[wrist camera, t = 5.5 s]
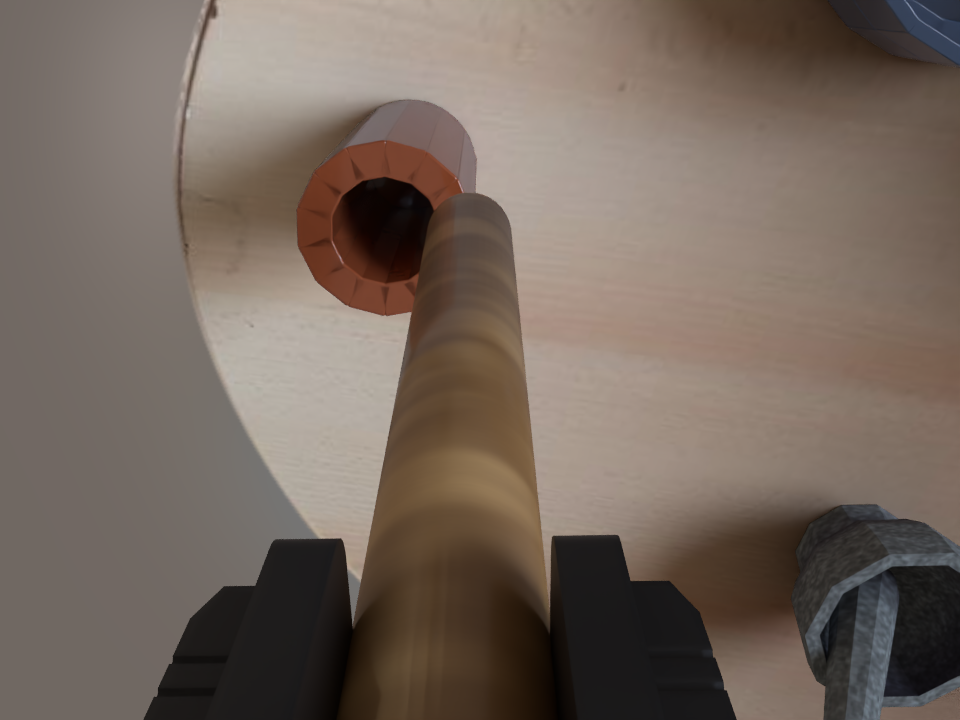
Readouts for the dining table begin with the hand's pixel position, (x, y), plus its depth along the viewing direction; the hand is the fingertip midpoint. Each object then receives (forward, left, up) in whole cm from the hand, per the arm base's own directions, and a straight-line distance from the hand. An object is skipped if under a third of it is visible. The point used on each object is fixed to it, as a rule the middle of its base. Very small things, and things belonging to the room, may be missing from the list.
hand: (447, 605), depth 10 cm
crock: (-2, -2, -33) cm, 33 cm away
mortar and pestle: (+29, -10, -33) cm, 45 cm away
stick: (0, 0, -17) cm, 17 cm away
